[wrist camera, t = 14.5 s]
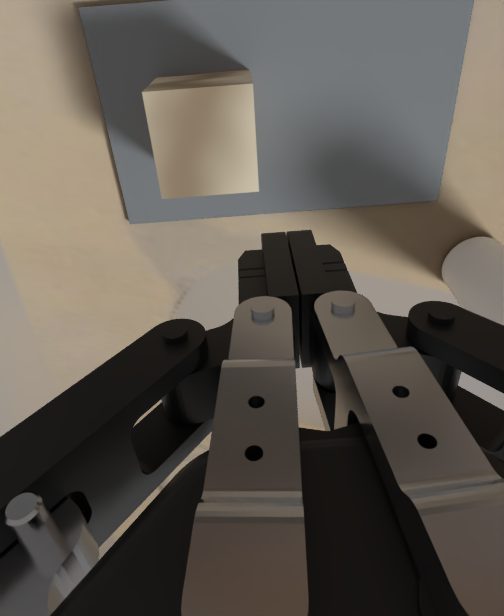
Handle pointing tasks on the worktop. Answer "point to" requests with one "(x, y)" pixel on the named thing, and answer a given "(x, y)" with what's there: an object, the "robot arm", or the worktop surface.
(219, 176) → the birch cube
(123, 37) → the slate mat
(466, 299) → the drinking glass
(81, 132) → the worktop surface
